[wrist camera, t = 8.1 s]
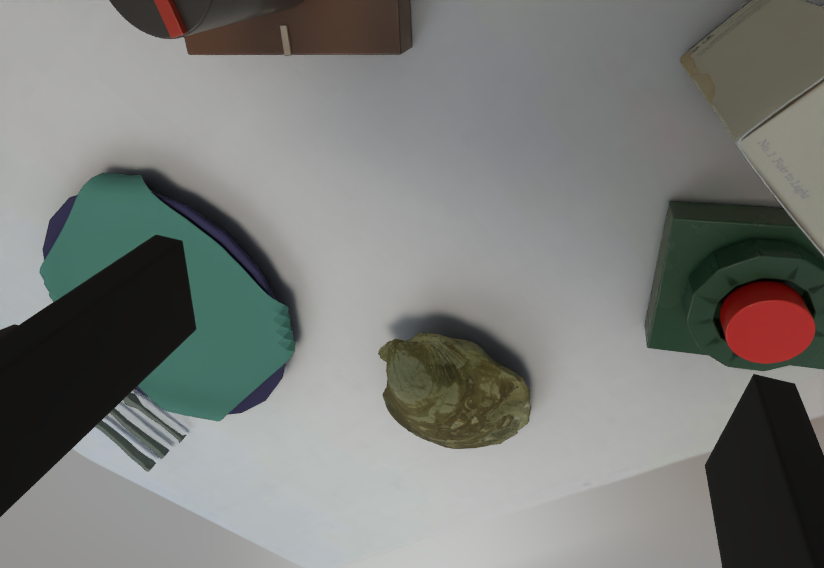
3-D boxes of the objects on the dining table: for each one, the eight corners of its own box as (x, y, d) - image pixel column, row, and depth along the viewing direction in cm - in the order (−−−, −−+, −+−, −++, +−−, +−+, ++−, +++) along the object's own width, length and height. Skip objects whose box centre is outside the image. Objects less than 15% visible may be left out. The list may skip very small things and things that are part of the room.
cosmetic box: (676, 58, 26) (720, 138, 17) (772, -19, 24) (893, 20, 14) (754, 158, 28) (840, 288, 18) (854, 94, 25) (1017, 203, 15)
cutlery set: (350, 321, 40) (338, 341, 38) (171, 474, 56) (156, 493, 55) (120, 113, 36) (93, 124, 35) (0, 341, 53) (-23, 357, 51)
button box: (870, 212, 28) (907, 250, 24) (817, 345, 32) (842, 393, 28) (668, 200, 30) (677, 234, 27) (644, 326, 34) (648, 368, 31)
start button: (814, 284, 26) (827, 304, 25) (792, 346, 28) (802, 368, 27) (728, 276, 27) (735, 295, 26) (712, 337, 29) (717, 358, 28)
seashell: (455, 476, 43) (368, 490, 35) (413, 391, 46) (326, 386, 38) (564, 403, 39) (494, 399, 31) (510, 316, 42) (435, 293, 35)
